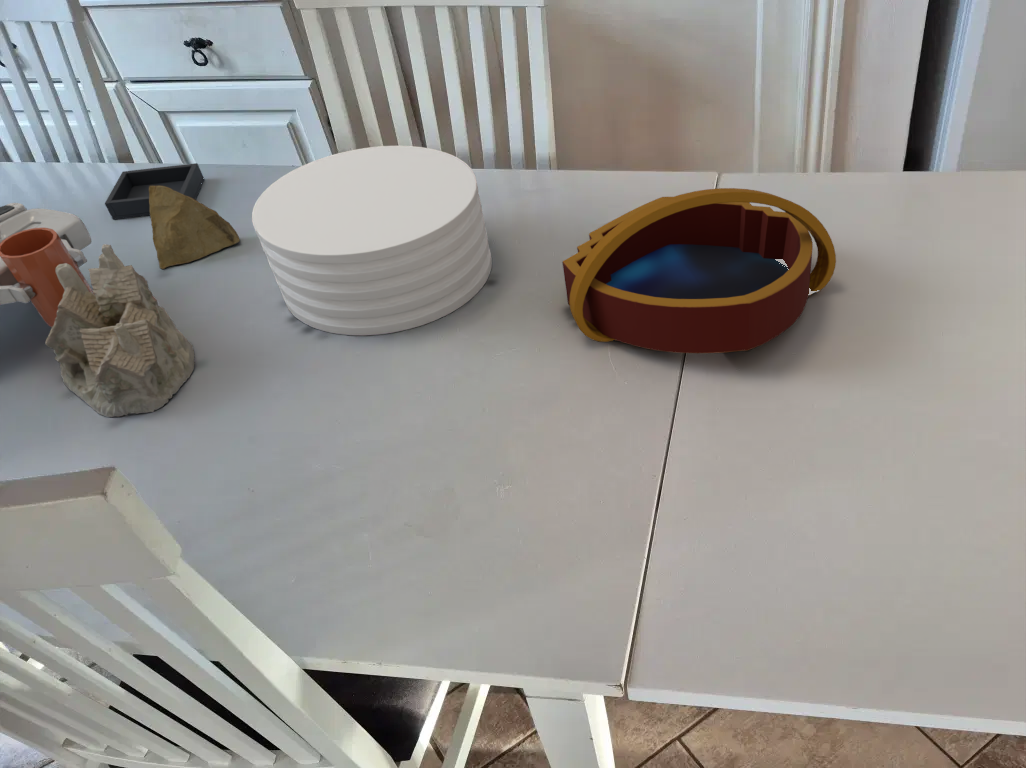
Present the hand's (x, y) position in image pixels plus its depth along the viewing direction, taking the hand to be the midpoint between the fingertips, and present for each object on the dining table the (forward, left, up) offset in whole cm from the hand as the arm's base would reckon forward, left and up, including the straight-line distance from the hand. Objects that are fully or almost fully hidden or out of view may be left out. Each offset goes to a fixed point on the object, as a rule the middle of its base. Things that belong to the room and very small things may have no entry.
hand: (55, 276), depth 101 cm
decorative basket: (+77, -11, -9) cm, 78 cm away
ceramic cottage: (+6, -9, -9) cm, 14 cm away
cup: (-1, +1, -6) cm, 6 cm away
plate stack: (+37, +6, -9) cm, 39 cm away
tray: (0, +37, -9) cm, 38 cm away
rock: (+10, +18, -9) cm, 23 cm away
